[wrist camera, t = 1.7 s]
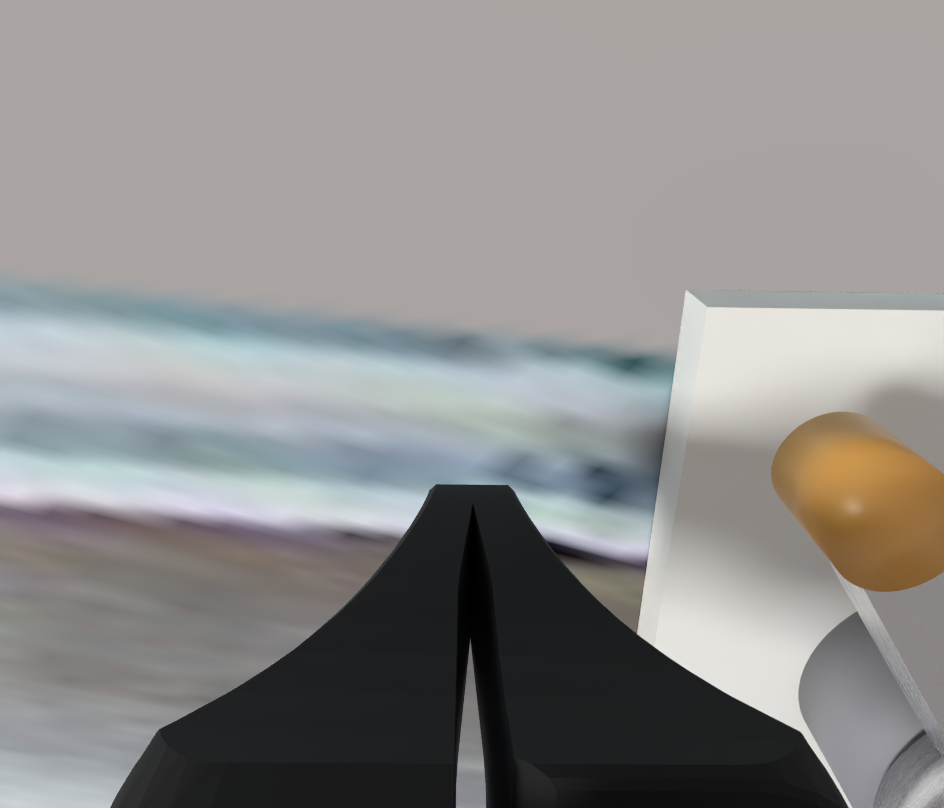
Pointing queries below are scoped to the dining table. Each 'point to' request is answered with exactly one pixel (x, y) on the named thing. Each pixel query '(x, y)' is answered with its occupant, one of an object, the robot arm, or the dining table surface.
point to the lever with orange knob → (881, 566)
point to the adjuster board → (785, 510)
